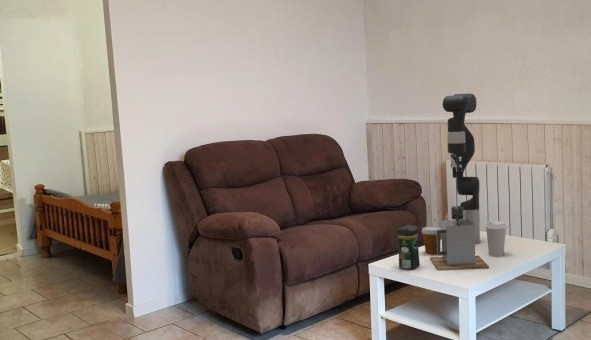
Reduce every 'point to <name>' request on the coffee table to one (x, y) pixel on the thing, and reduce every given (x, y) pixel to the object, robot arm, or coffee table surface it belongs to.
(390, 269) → the coffee table surface
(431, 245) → the disposable coffee cup
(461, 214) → the plunger
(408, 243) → the coffee jar
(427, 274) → the coffee table surface
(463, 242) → the silver block with slot
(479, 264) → the walnut board
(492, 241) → the coffee cup
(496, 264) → the coffee table surface
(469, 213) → the robot arm
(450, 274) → the coffee table surface
